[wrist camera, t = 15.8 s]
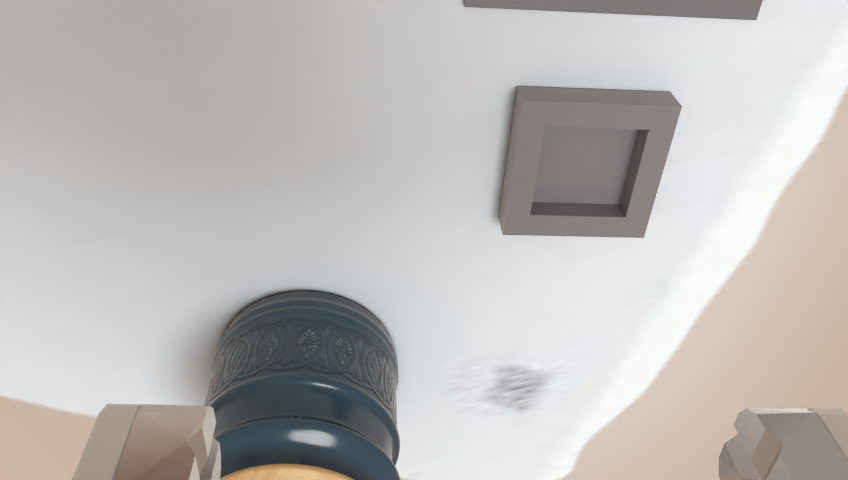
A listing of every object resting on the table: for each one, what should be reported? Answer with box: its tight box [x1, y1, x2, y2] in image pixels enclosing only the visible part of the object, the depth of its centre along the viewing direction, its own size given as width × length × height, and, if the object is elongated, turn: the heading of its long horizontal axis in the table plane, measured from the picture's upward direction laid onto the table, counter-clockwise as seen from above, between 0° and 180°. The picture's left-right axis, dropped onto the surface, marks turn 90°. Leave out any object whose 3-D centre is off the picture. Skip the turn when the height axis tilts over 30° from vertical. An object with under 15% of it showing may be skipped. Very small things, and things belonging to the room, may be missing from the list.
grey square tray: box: [499, 86, 682, 238], centre depth 43 cm, size 9×9×2 cm
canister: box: [205, 291, 400, 480], centre depth 46 cm, size 13×13×18 cm
